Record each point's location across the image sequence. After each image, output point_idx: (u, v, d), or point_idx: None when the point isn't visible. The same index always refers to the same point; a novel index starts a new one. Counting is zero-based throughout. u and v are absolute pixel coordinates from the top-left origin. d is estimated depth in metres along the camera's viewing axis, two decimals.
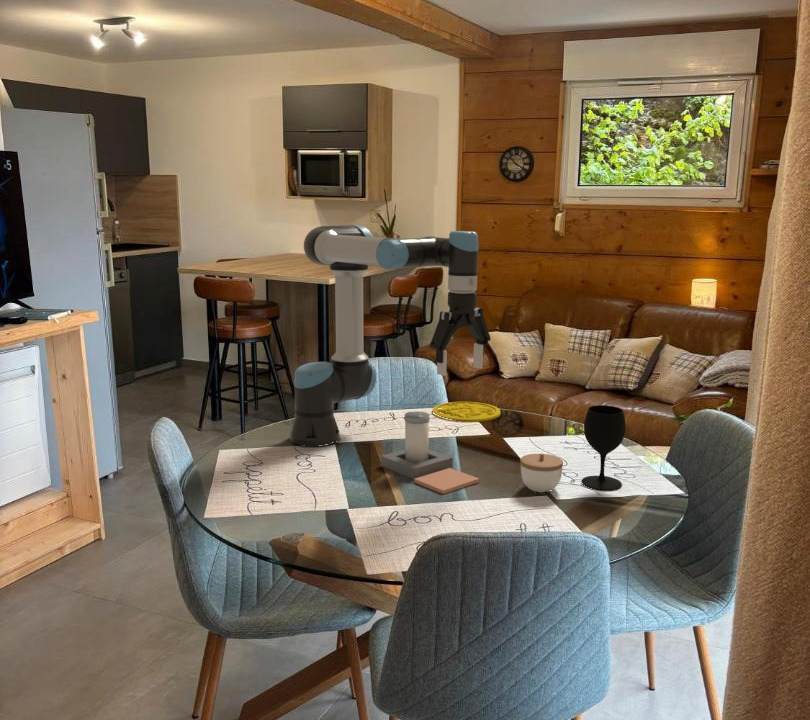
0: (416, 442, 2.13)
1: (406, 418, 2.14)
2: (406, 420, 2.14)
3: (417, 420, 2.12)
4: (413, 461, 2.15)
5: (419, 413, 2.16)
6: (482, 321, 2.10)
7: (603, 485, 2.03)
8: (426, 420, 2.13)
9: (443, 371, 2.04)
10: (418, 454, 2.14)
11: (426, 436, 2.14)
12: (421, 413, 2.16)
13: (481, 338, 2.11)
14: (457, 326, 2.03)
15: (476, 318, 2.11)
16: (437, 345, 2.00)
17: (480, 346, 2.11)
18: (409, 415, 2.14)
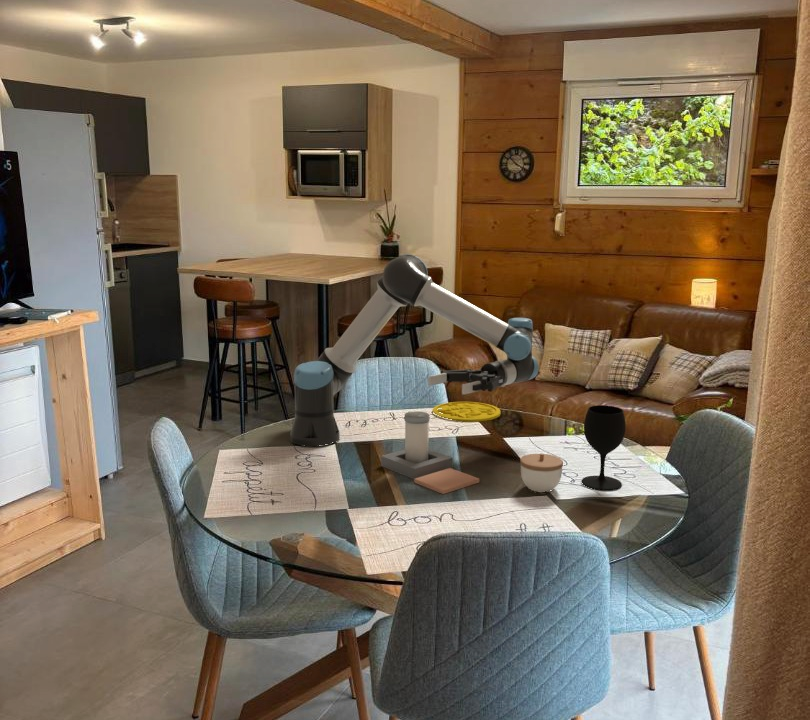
0: (416, 442, 2.13)
1: (406, 418, 2.14)
2: (406, 420, 2.14)
3: (417, 420, 2.12)
4: (413, 461, 2.15)
5: (419, 413, 2.16)
6: None
7: (603, 485, 2.03)
8: (426, 420, 2.13)
9: (466, 392, 2.16)
10: (418, 454, 2.14)
11: (426, 436, 2.14)
12: (421, 413, 2.16)
13: None
14: None
15: None
16: None
17: (445, 381, 2.30)
18: (409, 415, 2.14)
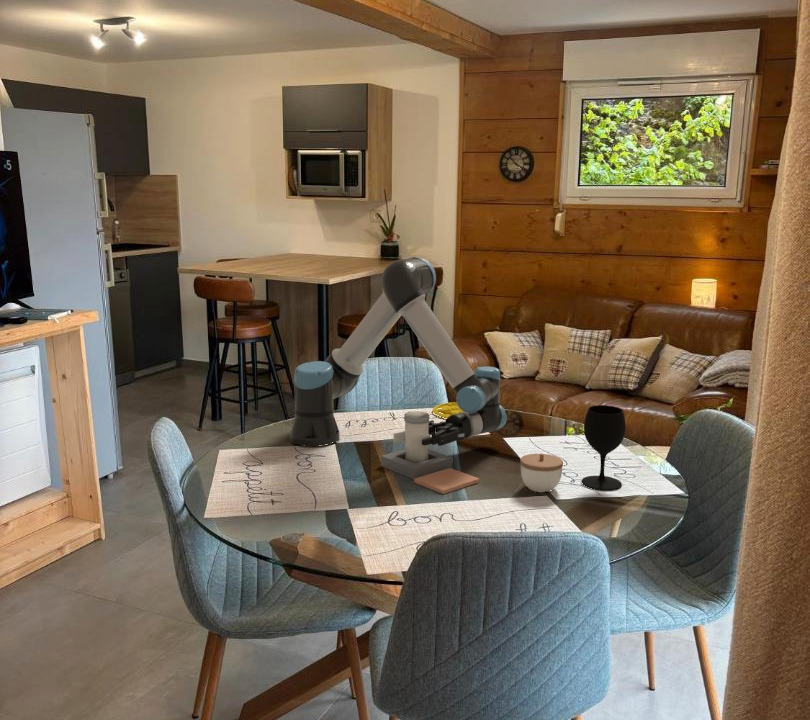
0: None
1: (406, 418, 2.13)
2: (406, 420, 2.14)
3: (417, 420, 2.12)
4: (413, 461, 2.15)
5: (419, 413, 2.16)
6: None
7: (603, 485, 2.03)
8: (426, 420, 2.13)
9: (415, 447, 2.11)
10: (418, 454, 2.14)
11: None
12: (421, 413, 2.16)
13: None
14: None
15: (429, 425, 2.26)
16: None
17: None
18: (409, 415, 2.14)
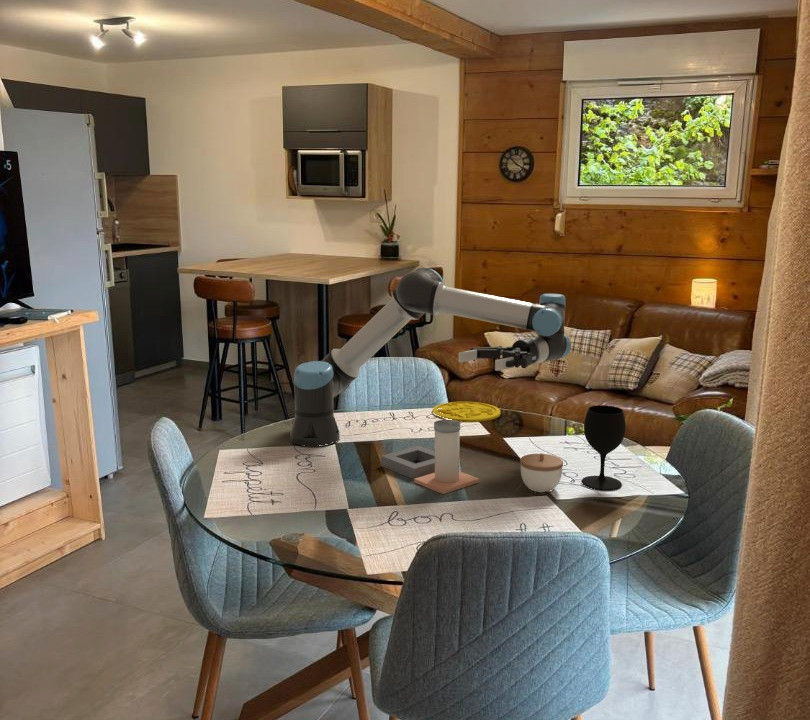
0: (447, 452, 2.02)
1: (436, 427, 2.02)
2: (436, 429, 2.02)
3: (448, 429, 2.00)
4: (443, 472, 2.03)
5: (449, 421, 2.05)
6: None
7: (603, 485, 2.03)
8: (457, 429, 2.01)
9: (499, 368, 2.07)
10: (449, 465, 2.02)
11: (457, 446, 2.03)
12: (451, 421, 2.05)
13: None
14: None
15: None
16: None
17: (475, 358, 2.20)
18: (439, 424, 2.03)
